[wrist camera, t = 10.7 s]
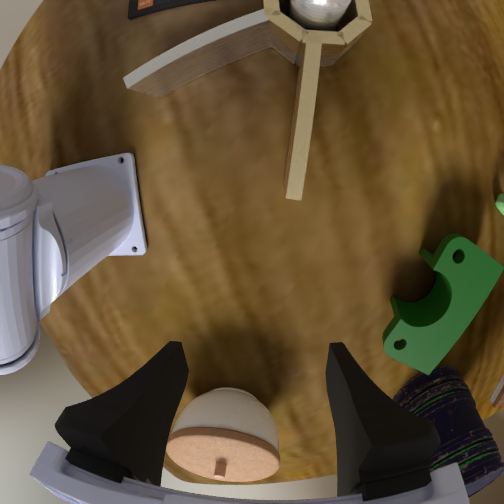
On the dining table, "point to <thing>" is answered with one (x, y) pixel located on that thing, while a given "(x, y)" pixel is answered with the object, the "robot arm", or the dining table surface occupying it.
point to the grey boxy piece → (498, 394)
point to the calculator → (155, 6)
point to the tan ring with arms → (252, 41)
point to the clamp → (441, 304)
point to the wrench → (500, 203)
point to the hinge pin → (318, 13)
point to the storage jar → (454, 426)
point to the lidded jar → (226, 437)
